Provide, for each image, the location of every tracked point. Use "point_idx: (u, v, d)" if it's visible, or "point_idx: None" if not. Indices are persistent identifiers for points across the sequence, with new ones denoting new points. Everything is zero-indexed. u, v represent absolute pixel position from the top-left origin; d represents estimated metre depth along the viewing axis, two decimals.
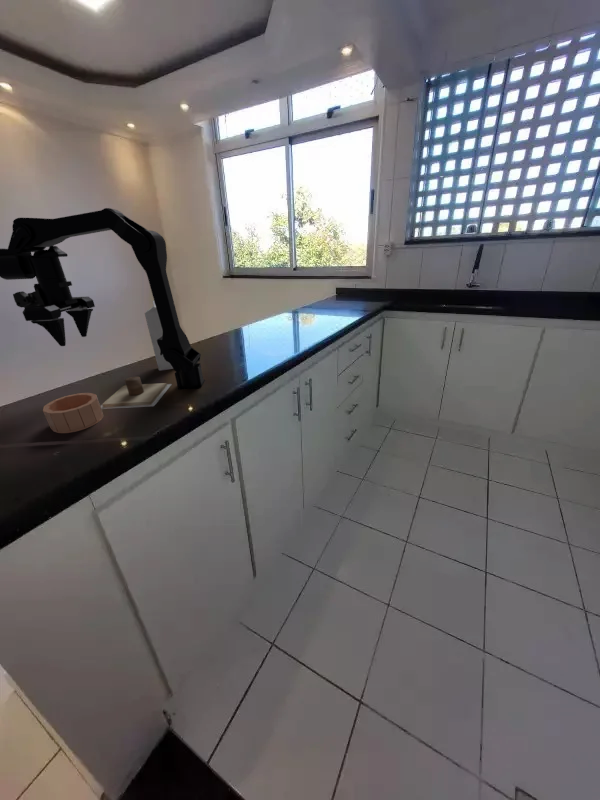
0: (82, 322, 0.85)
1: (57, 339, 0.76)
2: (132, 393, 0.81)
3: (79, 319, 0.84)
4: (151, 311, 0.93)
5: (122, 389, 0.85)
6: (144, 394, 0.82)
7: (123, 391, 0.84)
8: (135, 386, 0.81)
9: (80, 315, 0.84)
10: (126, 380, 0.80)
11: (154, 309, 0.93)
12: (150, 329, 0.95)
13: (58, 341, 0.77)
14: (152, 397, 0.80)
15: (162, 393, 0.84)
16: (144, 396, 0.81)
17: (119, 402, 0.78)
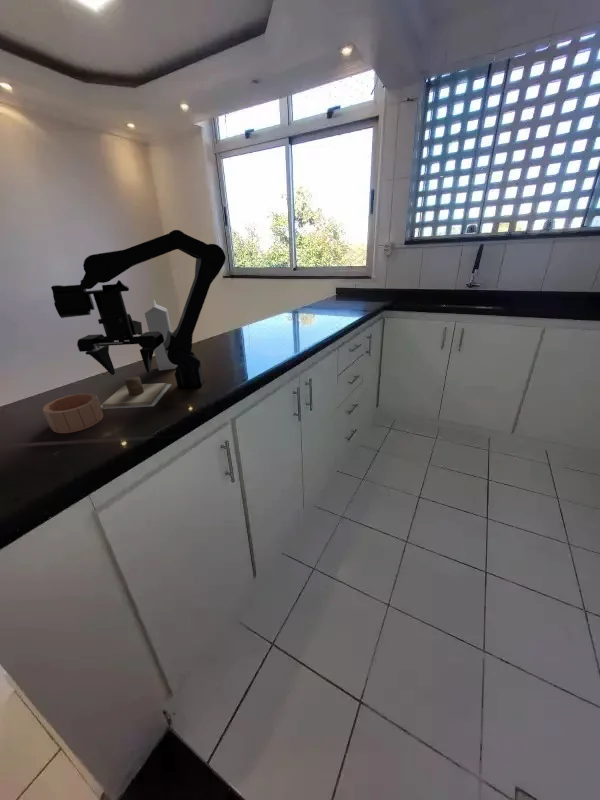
0: None
1: None
2: (132, 393, 0.81)
3: None
4: (151, 311, 0.93)
5: (122, 389, 0.85)
6: (144, 394, 0.82)
7: (123, 391, 0.84)
8: (135, 386, 0.81)
9: None
10: (126, 380, 0.80)
11: (154, 309, 0.93)
12: (150, 329, 0.95)
13: None
14: (152, 397, 0.80)
15: (162, 393, 0.84)
16: (144, 396, 0.81)
17: (119, 402, 0.78)
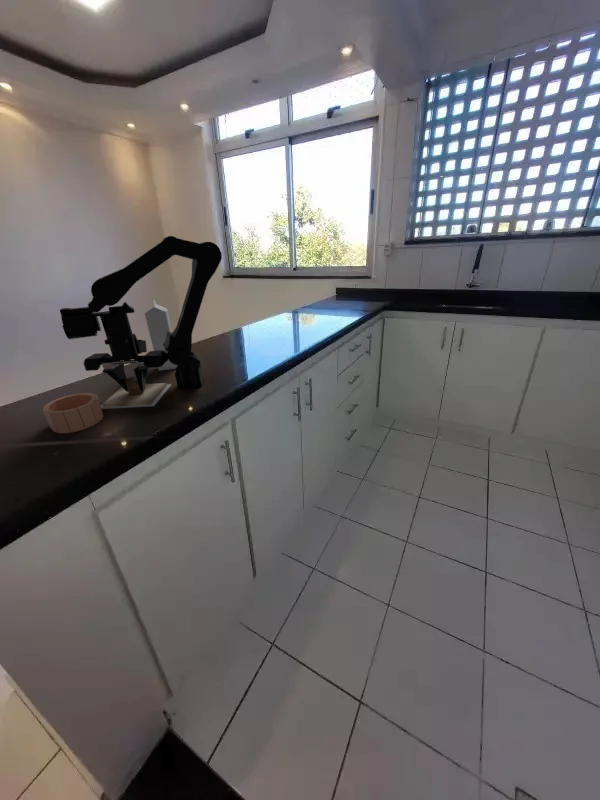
0: None
1: None
2: (132, 393, 0.81)
3: None
4: (151, 311, 0.93)
5: (122, 389, 0.85)
6: (144, 394, 0.82)
7: (123, 391, 0.84)
8: (135, 386, 0.81)
9: None
10: (126, 380, 0.80)
11: (154, 309, 0.93)
12: (150, 329, 0.95)
13: None
14: (152, 397, 0.80)
15: (162, 393, 0.84)
16: (144, 396, 0.81)
17: (119, 402, 0.78)
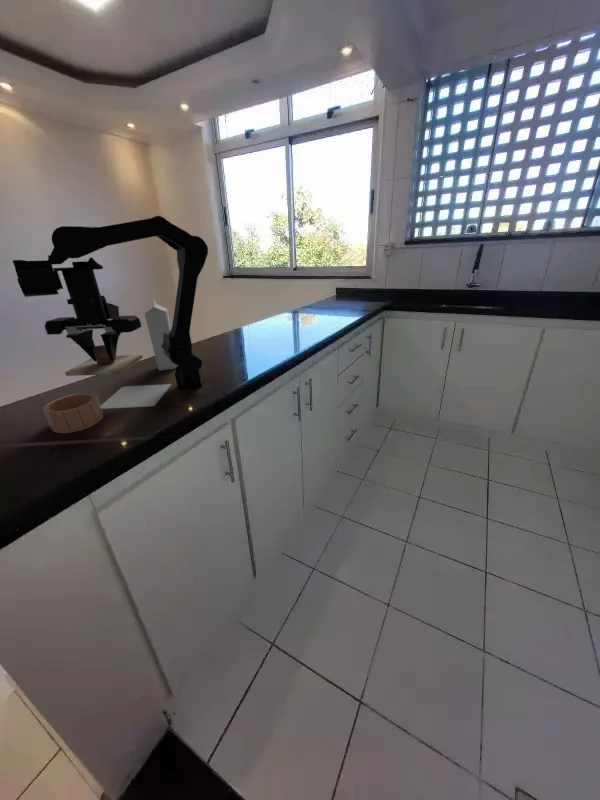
0: None
1: None
2: (100, 362, 0.73)
3: None
4: (151, 311, 0.93)
5: (91, 360, 0.77)
6: (114, 364, 0.73)
7: (92, 361, 0.76)
8: (103, 355, 0.72)
9: None
10: (94, 348, 0.72)
11: (154, 309, 0.93)
12: (150, 329, 0.95)
13: None
14: (122, 367, 0.72)
15: (162, 393, 0.84)
16: (114, 366, 0.73)
17: (84, 371, 0.70)
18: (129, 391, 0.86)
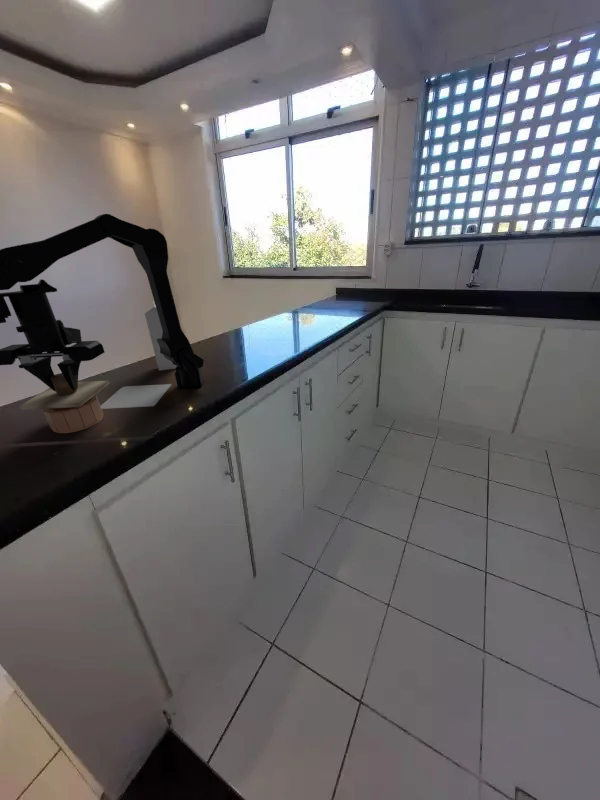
0: None
1: None
2: (60, 393, 0.66)
3: None
4: (151, 311, 0.93)
5: None
6: (75, 394, 0.67)
7: (52, 390, 0.69)
8: (63, 384, 0.66)
9: None
10: (52, 377, 0.66)
11: (154, 309, 0.93)
12: (150, 329, 0.95)
13: None
14: (83, 398, 0.65)
15: (162, 393, 0.84)
16: (75, 396, 0.66)
17: (40, 404, 0.63)
18: (129, 391, 0.86)
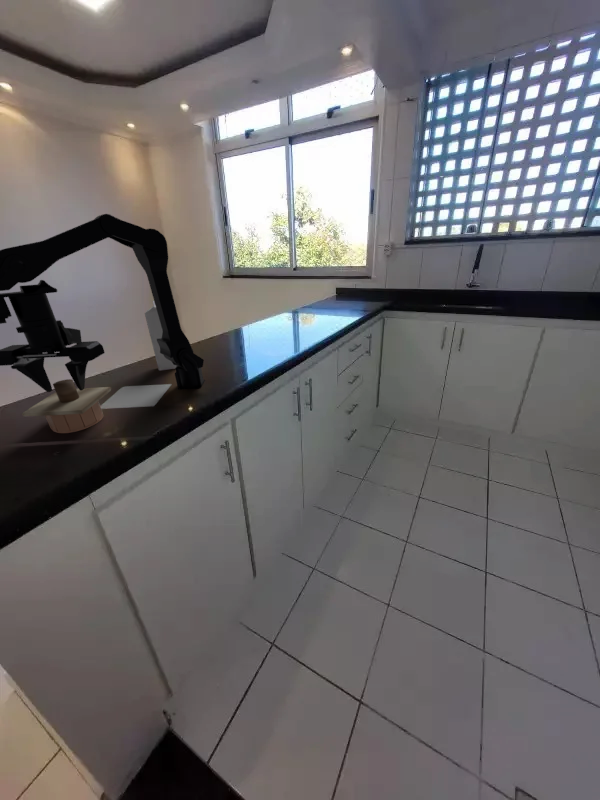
0: None
1: None
2: (62, 399, 0.67)
3: None
4: (151, 311, 0.93)
5: (54, 395, 0.71)
6: (78, 401, 0.68)
7: (55, 397, 0.70)
8: (65, 391, 0.66)
9: None
10: (55, 384, 0.66)
11: (154, 309, 0.93)
12: (150, 329, 0.95)
13: None
14: (86, 404, 0.66)
15: (162, 393, 0.84)
16: (77, 403, 0.67)
17: (43, 411, 0.64)
18: (129, 391, 0.86)
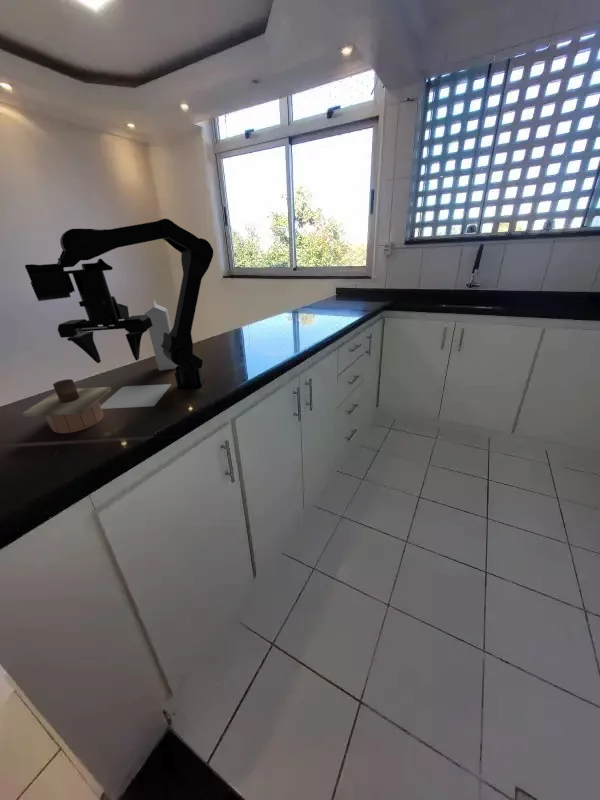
0: None
1: None
2: (62, 399, 0.67)
3: None
4: (151, 311, 0.93)
5: (54, 395, 0.71)
6: (78, 401, 0.68)
7: (55, 397, 0.70)
8: (65, 391, 0.66)
9: None
10: (55, 384, 0.66)
11: (154, 309, 0.93)
12: (150, 329, 0.95)
13: None
14: (86, 404, 0.66)
15: (162, 393, 0.84)
16: (77, 403, 0.67)
17: (43, 411, 0.64)
18: (129, 391, 0.86)
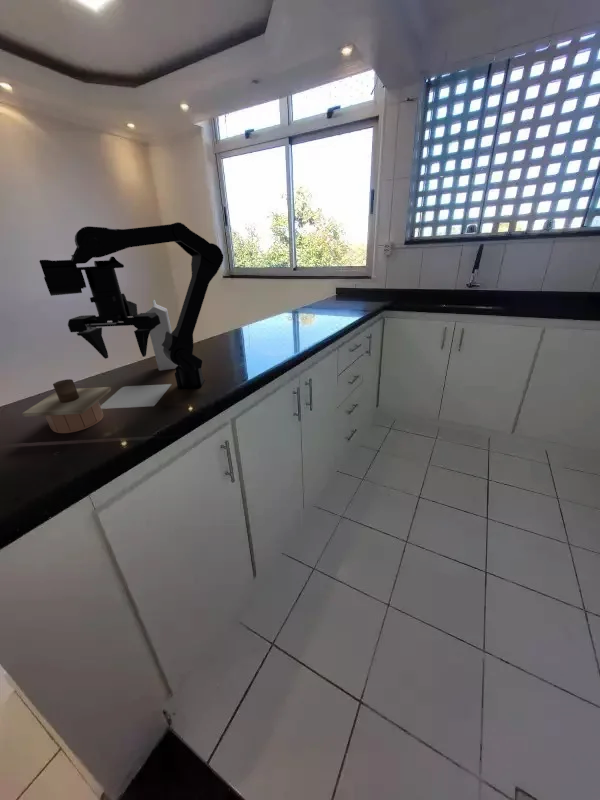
0: None
1: None
2: (62, 399, 0.67)
3: None
4: (151, 311, 0.93)
5: (54, 395, 0.71)
6: (78, 401, 0.68)
7: (55, 397, 0.70)
8: (65, 391, 0.66)
9: None
10: (55, 384, 0.66)
11: (154, 309, 0.93)
12: None
13: None
14: (86, 404, 0.66)
15: (162, 393, 0.84)
16: (77, 403, 0.67)
17: (43, 411, 0.64)
18: (129, 391, 0.86)
